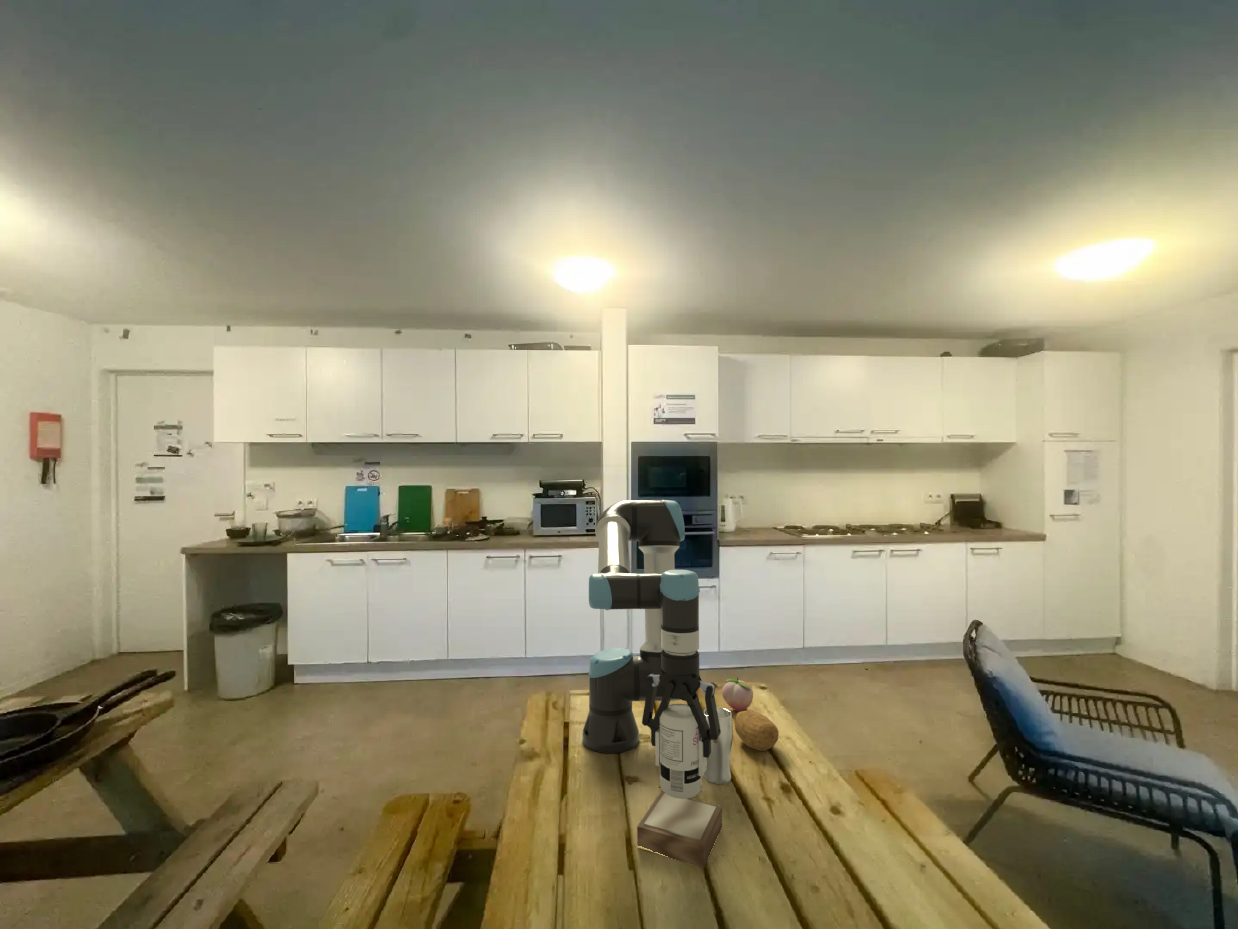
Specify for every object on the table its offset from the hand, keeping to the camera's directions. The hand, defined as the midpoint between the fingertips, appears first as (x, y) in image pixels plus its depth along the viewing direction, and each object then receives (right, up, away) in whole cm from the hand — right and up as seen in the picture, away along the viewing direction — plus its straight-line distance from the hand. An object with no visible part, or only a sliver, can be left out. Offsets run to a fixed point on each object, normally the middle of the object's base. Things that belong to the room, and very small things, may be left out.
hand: (680, 767), depth 106 cm
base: (0, -13, 0) cm, 13 cm away
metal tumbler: (+11, -14, +21) cm, 28 cm away
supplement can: (0, -4, 0) cm, 4 cm away
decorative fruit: (+24, -15, +58) cm, 65 cm away
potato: (+24, -15, +36) cm, 46 cm away
